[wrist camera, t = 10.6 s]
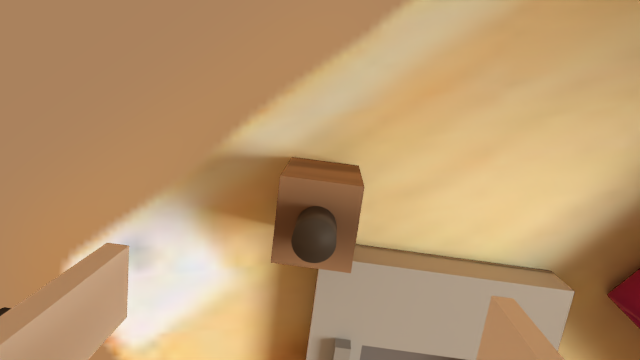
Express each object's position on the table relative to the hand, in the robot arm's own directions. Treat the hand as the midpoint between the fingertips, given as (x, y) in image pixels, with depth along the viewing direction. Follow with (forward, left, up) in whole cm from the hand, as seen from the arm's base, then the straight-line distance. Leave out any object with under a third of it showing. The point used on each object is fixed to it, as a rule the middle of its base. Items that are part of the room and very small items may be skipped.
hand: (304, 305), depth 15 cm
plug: (0, 0, -15) cm, 15 cm away
